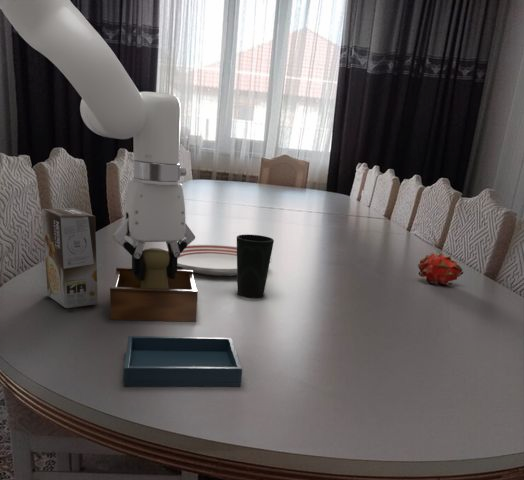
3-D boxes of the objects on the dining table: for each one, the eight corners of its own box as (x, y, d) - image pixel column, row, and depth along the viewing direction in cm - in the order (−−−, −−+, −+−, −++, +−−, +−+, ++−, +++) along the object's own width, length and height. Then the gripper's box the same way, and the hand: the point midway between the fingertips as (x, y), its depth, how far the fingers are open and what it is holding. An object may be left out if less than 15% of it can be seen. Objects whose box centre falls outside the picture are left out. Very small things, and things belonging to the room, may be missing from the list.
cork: (133, 303, 98) (133, 245, 94) (165, 301, 100) (166, 245, 96) (142, 313, 93) (143, 252, 89) (175, 311, 96) (176, 252, 91)
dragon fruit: (409, 284, 139) (453, 296, 138) (420, 272, 130) (466, 285, 130) (415, 256, 141) (458, 268, 140) (426, 242, 132) (472, 255, 132)
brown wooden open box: (110, 319, 89) (109, 288, 86) (116, 294, 102) (116, 266, 100) (196, 322, 91) (197, 291, 89) (191, 297, 105) (192, 270, 103)
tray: (123, 386, 66) (123, 367, 66) (128, 352, 77) (128, 335, 76) (240, 386, 70) (242, 368, 69) (230, 353, 80) (231, 337, 79)
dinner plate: (152, 276, 117) (152, 261, 116) (168, 251, 142) (169, 239, 141) (273, 285, 119) (274, 271, 117) (268, 259, 144) (269, 247, 143)
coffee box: (99, 304, 95) (97, 215, 89) (65, 309, 91) (60, 216, 85) (78, 291, 101) (75, 207, 95) (45, 295, 97) (39, 207, 91)
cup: (229, 296, 108) (233, 238, 103) (236, 287, 115) (240, 233, 110) (265, 301, 107) (271, 243, 102) (270, 292, 114) (275, 237, 109)
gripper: (194, 174, 95) (190, 271, 102) (99, 168, 86) (101, 274, 93) (211, 178, 89) (206, 281, 96) (111, 173, 81) (113, 286, 87)
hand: (154, 276), depth 94 cm, fingers closed on cork, 5 cm apart
